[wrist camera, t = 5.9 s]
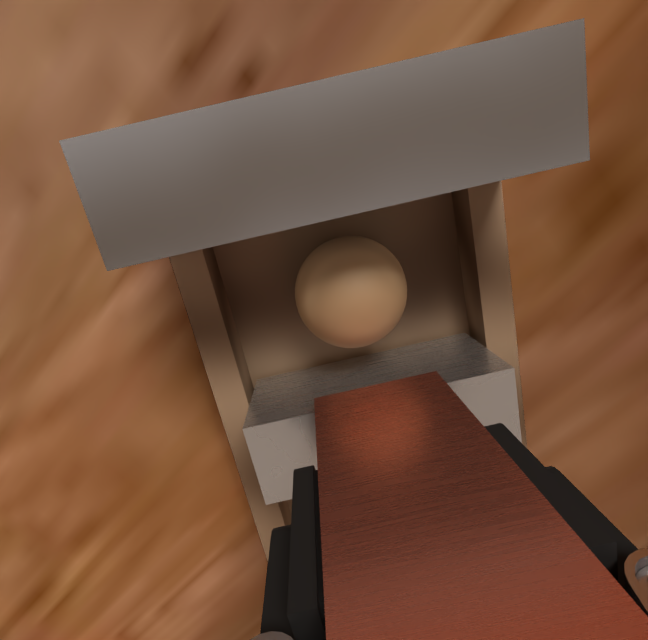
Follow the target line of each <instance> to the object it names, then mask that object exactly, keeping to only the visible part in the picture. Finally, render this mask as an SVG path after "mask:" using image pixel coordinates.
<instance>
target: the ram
mask: <svg viewBox="0 0 648 640" xmlns="http://www.w3.org/2000/svg"><path fill="white" fill-rule="evenodd" d="M497 423H502V424H504V425H505V426H506V427H507V428H508V429H509V430H510V431H511V433H512V434H513V435H514V436H515V437H516V438H517V439H518V440H519V441H520V442H521V443H522V439H521V429H520V419H519V409H518V399H517V389H516V379H515V369H514V367H512V366H511V365H510V364H508V363H507V362H505V361H504V360H503V359H501V358H500V357H498V356H497V355H496V354H494V353H493V352H491V351H490V350H489V349H487V348H486V347H484V346H483V345H482V344H480V343H479V342H477V341H476V340H475V339H473V338H472V337H470V336H469V335H468V334H466V333H461V334H457V335H452V336H448V337H444V338H439V339H435V340H430V341H426V342H422V343H417V344H413V345H408V346H404V347H399V348H395V349H391V350H386V351H382V352H377V353H373V354H368V355H364V356H360V357H355V358H351V359H346V360H342V361H337V362H333V363H329V364H324V365H320V366H315V367H311V368H306V369H302V370H298V371H293V372H289V373H284V374H280V375H275V376H271V377H267V378H262V379H258V380H257V381H256V385H255V388H254V391H253V395H252V398H251V402H250V405H249V408H248V412H247V415H246V418H245V422H244V425H243V428H242V430H243V433H244V436H245V439H246V442H247V446H248V449H249V452H250V455H251V459H252V462H253V465H254V468H255V471H256V475H257V478H258V481H259V484H260V488H261V491H262V494H263V497H264V500H265V504H266V505H268V504H272V503H277V502H281V501H286V500H290V499H292V492H293V472H294V469H298V468H303V467H307V466H311V465H314V467H315V470H318V487H319V507H320V527H321V547H322V567H323V587H324V607H325V627H326V640H648V617H647V615H646V614H645V613H644V612H643V611H642V610H641V608H640V607H639V606H638V605H637V604H636V603H635V601H634V600H633V599H632V598H631V597H630V596H629V594H628V593H627V592H626V591H625V590H624V589H623V587H622V586H621V585H620V584H619V583H618V582H617V580H616V579H615V578H614V577H613V576H612V575H611V574H610V572H609V571H608V570H607V569H606V568H605V567H604V565H603V564H602V563H601V562H600V561H599V560H598V558H597V557H596V556H595V555H594V554H593V553H592V551H591V550H590V549H589V548H588V547H587V546H586V544H585V543H584V542H583V541H582V540H581V539H580V537H579V536H578V535H577V534H576V533H575V532H574V531H573V529H572V528H571V527H570V526H569V525H568V524H567V522H566V521H565V520H564V519H563V518H562V517H561V515H560V514H559V513H558V512H557V511H556V510H555V508H554V507H553V506H552V505H551V504H550V503H549V501H548V500H547V499H546V498H545V497H544V496H543V494H542V493H541V492H540V491H539V490H538V489H537V488H536V486H535V485H534V484H533V483H532V482H531V481H530V479H529V478H528V477H527V476H526V475H525V474H524V472H523V471H522V470H521V469H520V468H519V467H518V465H517V464H516V463H515V462H514V461H513V460H512V458H511V457H510V456H509V455H508V454H507V453H506V451H505V450H504V449H503V448H502V447H501V446H500V444H499V443H498V442H497V441H496V440H495V439H494V438H493V436H492V435H491V434H490V433H489V432H488V431H487V429H486V428H485V427H484V426H488V425H493V424H497Z"/></svg>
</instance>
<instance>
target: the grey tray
mask: <svg viewBox="0 0 648 640" xmlns="http://www.w3.org/2000/svg"><path fill="white" fill-rule="evenodd" d="M59 142H60V144H61V147H62V150H63V153H64V155H65V158H66V161H67V163H68V166H69V169H70V172H71V174H72V177H73V180H74V182H75V185H76V188H77V191H78V193H79V196H80V199H81V201H82V204H83V207H84V210H85V212H86V215H87V218H88V220H89V223H90V226H91V228H92V231H93V234H94V237H95V239H96V242H97V245H98V247H99V250H100V253H101V256H102V258H103V261H104V264H105V266H106V269H107V271H110V270H114V269H118V268H123V267H127V266H131V265H136V264H140V263H144V262H149V261H153V260H157V259H162V258H166V257H169V258H170V262H171V265H172V268H173V271H174V274H175V277H176V280H177V283H178V286H179V289H180V292H181V296H182V299H183V302H184V305H185V308H186V311H187V314H188V317H189V320H190V323H191V326H192V329H193V333H194V336H195V339H196V342H197V345H198V348H199V351H200V354H201V357H202V360H203V363H204V367H205V370H206V373H207V376H208V379H209V382H210V385H211V388H212V391H213V394H214V397H215V401H216V404H217V407H218V410H219V413H220V416H221V419H222V422H223V425H224V428H225V431H226V434H227V438H228V441H229V444H230V447H231V450H232V453H233V456H234V459H235V462H236V465H237V468H238V472H239V475H240V478H241V481H242V484H243V487H244V490H245V493H246V496H247V499H248V502H249V505H250V509H251V512H252V515H253V518H254V521H255V524H256V527H257V530H258V533H259V536H260V539H261V543H262V546H263V549H264V552H265V555H266V558H267V561H268V558H269V548H270V539H271V532H272V530H273V528H277V527H282V526H286V525H290V524H291V515H292V499H290V500H286V501H281V502H277V503H272V504H268V505H266V504H265V500H264V497H263V494H262V491H261V488H260V484H259V481H258V478H257V475H256V471H255V468H254V465H253V462H252V459H251V455H250V452H249V449H248V446H247V442H246V439H245V436H244V433H243V430H242V428H243V425H244V422H245V418H246V415H247V412H248V408H249V405H250V402H251V398H252V395H253V391H254V388H255V385H256V381H257V380H258V379H262V378H267V377H271V376H275V375H280V374H284V373H289V372H293V371H298V370H302V369H306V368H311V367H315V366H320V365H324V364H329V363H333V362H337V361H342V360H346V359H351V358H355V357H360V356H364V355H368V354H373V353H377V352H382V351H386V350H391V349H395V348H399V347H404V346H408V345H413V344H417V343H422V342H426V341H430V340H435V339H439V338H444V337H448V336H452V335H457V334H461V333H466V334H468V335H469V336H470V337H472V338H473V339H475V340H476V341H477V342H479V343H480V344H482V345H483V346H484V347H486V348H487V349H489V350H490V351H491V352H493V353H494V354H496V355H497V356H498V357H500V358H501V359H503V360H504V361H505V362H507V363H508V364H510V365H511V366H512V367H514V369H515V379H516V389H517V399H518V409H519V419H520V429H521V439H522V444H523V445H524V446H525V447H526V448H527V441H526V431H525V420H524V410H523V400H522V389H521V379H520V369H519V358H518V348H517V338H516V328H515V317H514V307H513V297H512V286H511V276H510V266H509V255H508V245H507V235H506V224H505V214H504V204H503V193H502V183H501V180H506V179H510V178H514V177H519V176H523V175H527V174H532V173H536V172H540V171H545V170H549V169H553V168H558V167H562V166H566V165H571V164H575V163H580V162H584V161H588V160H590V152H589V127H588V102H587V77H586V52H585V27H584V18H583V19H579V20H574V21H570V22H566V23H561V24H557V25H553V26H549V27H544V28H540V29H536V30H531V31H527V32H523V33H519V34H514V35H510V36H506V37H501V38H497V39H493V40H489V41H484V42H480V43H476V44H472V45H467V46H463V47H459V48H454V49H450V50H446V51H442V52H437V53H433V54H429V55H424V56H420V57H416V58H412V59H407V60H403V61H399V62H394V63H390V64H386V65H382V66H377V67H373V68H369V69H364V70H360V71H356V72H352V73H347V74H343V75H339V76H335V77H330V78H326V79H322V80H317V81H313V82H309V83H305V84H300V85H296V86H292V87H287V88H283V89H279V90H275V91H270V92H266V93H262V94H257V95H253V96H249V97H245V98H240V99H236V100H232V101H228V102H223V103H219V104H215V105H210V106H206V107H202V108H198V109H193V110H189V111H185V112H180V113H176V114H172V115H168V116H163V117H159V118H155V119H150V120H146V121H142V122H138V123H133V124H129V125H125V126H121V127H116V128H112V129H108V130H103V131H99V132H95V133H91V134H86V135H82V136H78V137H73V138H69V139H65V140H61V141H59ZM343 236H361V237H365V238H369V239H372V240H374V241H376V242H378V243H380V244H382V245H383V246H384V247H386V248H387V249H388V250H389V251H390V252H391V253H392V254H393V255H394V256H395V257H396V259H397V260H398V261H399V263H400V265H401V267H402V269H403V272H404V274H405V278H406V282H407V301H406V306H405V309H404V312H403V314H402V316H401V318H400V320H399V322H398V323H397V325H396V326H395V327H394V329H393V330H392V331H391V332H390V333H389V334H388V335H386V336H385V337H384V338H382V339H381V340H379V341H377V342H375V343H373V344H371V345H368V346H364V347H359V348H342V347H337V346H334V345H331V344H328V343H326V342H324V341H322V340H321V339H319V338H318V337H317V336H315V335H314V334H313V333H312V332H311V331H310V330H309V329H308V328H307V326H306V325H305V324H304V322H303V321H302V319H301V317H300V315H299V312H298V309H297V306H296V300H295V283H296V279H297V275H298V272H299V270H300V268H301V266H302V264H303V262H304V261H305V259H306V258H307V257H308V256H309V254H310V253H311V252H312V251H313V250H315V249H316V248H317V247H318V246H320V245H321V244H323V243H324V242H327V241H329V240H331V239H334V238H338V237H343Z"/></svg>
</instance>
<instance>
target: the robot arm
mask: <svg viewBox="0 0 648 640" xmlns="http://www.w3.org/2000/svg"><path fill="white" fill-rule="evenodd" d="M484 427H485V428H486V429H487V431H488V432H489V433H490V434H491V435H492V436H493V438H494V439H495V440H496V441H497V442H498V443H499V444H500V446H501V447H502V448H503V449H504V450H505V451H506V453H507V454H508V455H509V456H510V457H511V458H512V460H513V461H514V462H515V463H516V464H517V465H518V467H519V468H520V469H521V470H522V471H523V472H524V474H525V475H526V476H527V477H528V478H529V479H530V481H531V482H532V483H533V484H534V485H535V486H536V488H537V489H538V490H539V491H540V492H541V493H542V494H543V496H544V497H545V498H546V499H547V500H548V501H549V503H550V504H551V505H552V506H553V507H554V508H555V510H556V511H557V512H558V513H559V514H560V515H561V517H562V518H563V519H564V520H565V521H566V522H567V524H568V525H569V526H570V527H571V528H572V529H573V531H574V532H575V533H576V534H577V535H578V536H579V537H580V539H581V540H582V541H583V542H584V543H585V544H586V546H587V547H588V548H589V549H590V550H591V551H592V553H593V554H594V555H595V556H596V557H597V558H598V560H599V561H600V562H601V563H602V564H603V565H604V567H605V568H606V569H607V570H608V571H609V572H610V574H611V575H612V576H613V577H614V578H615V579H616V580H617V582H618V583H619V584H620V585H621V586H622V587H623V589H624V590H625V591H626V592H627V593H628V594H629V596H630V597H631V598H632V599H633V600H634V601H635V603H636V604H637V605H638V606H639V607H640V608H641V610H642V611H643V612H644V613H645V614H646V615H647V617H648V548H645V549H639V550H638V549H637V548H636V547H635V546H634V545H633V544H632V543H631V542H630V541H629V540H628V539H627V538H626V537H625V536H624V535H623V534H622V533H621V532H620V531H619V530H618V529H617V528H616V527H615V526H614V525H613V524H612V523H611V522H610V521H609V520H608V519H607V518H606V517H605V516H604V515H603V514H602V513H601V512H600V511H599V510H598V509H597V508H596V507H595V506H594V505H593V504H592V503H591V502H590V501H589V500H588V499H587V498H586V497H585V496H584V495H583V494H582V493H581V492H580V491H579V490H578V489H577V488H576V487H575V486H574V485H573V484H572V483H571V482H570V481H569V480H568V479H567V478H566V477H565V476H564V475H563V474H562V473H561V472H560V471H559V470H557V469H556V468H555V467H552V466H549V467H544V466H543V465H542V464H541V463H540V462H539V461H538V459H537V458H536V457H535V456H534V455H533V454H532V453H531V452H530V451H529V450H528V449H527V448H526V447H525V446H524V445H523V444H522V443H521V442H520V441H519V440H518V439H517V438H516V437H515V436H514V435H513V434H512V433H511V431H510V430H509V429H508V428H507V427H506V426H505V425H504V424H502V423H497V424H493V425H488V426H484ZM250 640H326V627H325V607H324V587H323V567H322V547H321V527H320V507H319V487H318V470H315V467H314V465H311V466H307V467H303V468H298V469H294V472H293V492H292V515H291V524H290V525H286V526H282V527H277V528H273V530H272V532H271V539H270V548H269V558H268V567H267V576H266V586H265V595H264V604H263V614H262V623H261V633H260V634H259V635H257V636H256V637H254V638H252V639H250Z"/></svg>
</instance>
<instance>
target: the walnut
mask: <svg viewBox="0 0 648 640" xmlns="http://www.w3.org/2000/svg"><path fill="white" fill-rule="evenodd" d="M295 300H296V306H297V309H298V312H299V315H300V317H301V319H302V321H303V322H304V324H305V325H306V326H307V328H308V329H309V330H310V331H311V332H312V333H313V334H314V335H315V336H317V337H318V338H319V339H321V340H322V341H324V342H326V343H328V344H331V345H334V346H337V347H342V348H359V347H364V346H368V345H371V344H373V343H375V342H377V341H379V340H381V339H382V338H384V337H385V336H386V335H388V334H389V333H390V332H391V331H392V330H393V329H394V327H395V326H396V325H397V323H398V322H399V320H400V318H401V316H402V314H403V312H404V309H405V306H406V301H407V282H406V278H405V274H404V272H403V269H402V267H401V265H400V263H399V261H398V260H397V259H396V257H395V256H394V255H393V254H392V253H391V252H390V251H389V250H388V249H387V248H386V247H384V246H383V245H382V244H380V243H378V242H376V241H374V240H372V239H369V238H365V237H361V236H343V237H338V238H334V239H331V240H329V241H327V242H324V243H323V244H321V245H320V246H318V247H317V248H316V249H315V250H313V251H312V252H311V253H310V254H309V256H308V257H307V258H306V259H305V261H304V262H303V264H302V266H301V268H300V270H299V272H298V275H297V279H296V283H295Z"/></svg>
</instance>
